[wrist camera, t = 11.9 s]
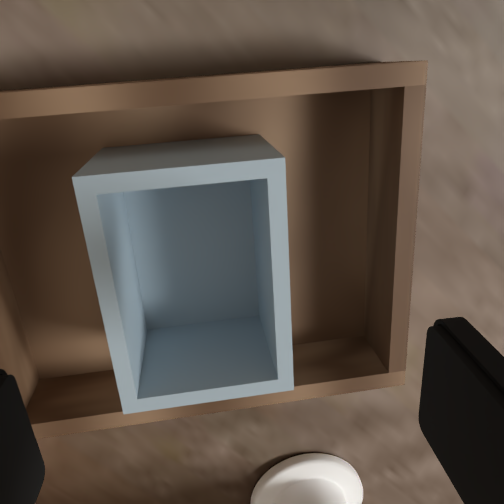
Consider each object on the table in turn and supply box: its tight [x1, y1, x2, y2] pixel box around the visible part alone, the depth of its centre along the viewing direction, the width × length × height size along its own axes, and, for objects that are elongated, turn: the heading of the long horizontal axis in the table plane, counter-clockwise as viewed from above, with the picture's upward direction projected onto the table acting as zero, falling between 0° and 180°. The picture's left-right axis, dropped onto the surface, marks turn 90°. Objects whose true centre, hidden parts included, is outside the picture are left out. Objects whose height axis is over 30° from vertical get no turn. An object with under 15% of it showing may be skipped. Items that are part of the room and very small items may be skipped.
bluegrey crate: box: [72, 134, 294, 414], centre depth 18 cm, size 6×9×6 cm
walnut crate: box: [0, 61, 428, 439], centre depth 20 cm, size 18×14×4 cm
